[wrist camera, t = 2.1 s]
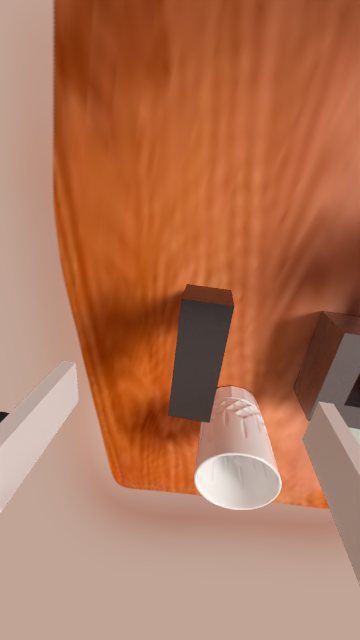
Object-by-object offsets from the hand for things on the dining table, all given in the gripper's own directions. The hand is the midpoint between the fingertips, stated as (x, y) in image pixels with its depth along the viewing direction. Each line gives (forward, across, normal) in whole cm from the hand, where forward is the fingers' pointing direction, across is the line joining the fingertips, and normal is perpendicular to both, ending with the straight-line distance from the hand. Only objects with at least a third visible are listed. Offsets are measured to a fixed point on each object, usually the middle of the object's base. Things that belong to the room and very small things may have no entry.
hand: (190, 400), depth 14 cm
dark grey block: (+15, 0, 0) cm, 15 cm away
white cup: (+15, +6, -13) cm, 21 cm away
